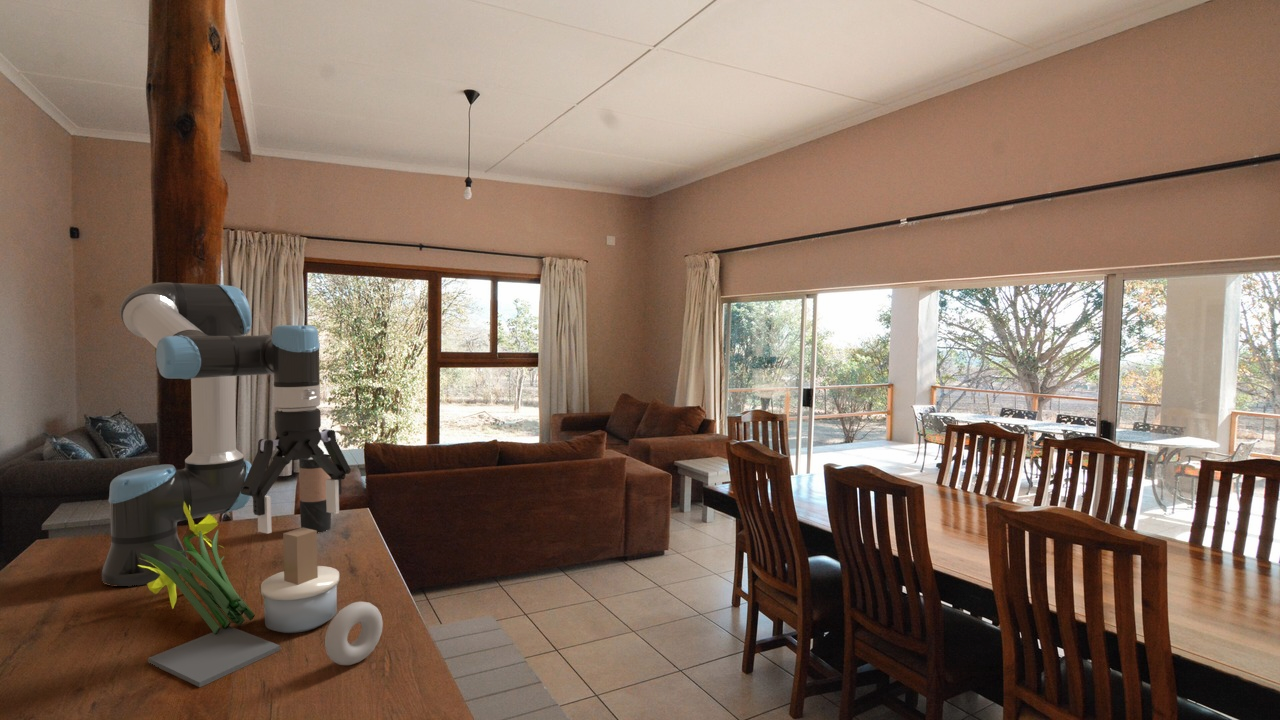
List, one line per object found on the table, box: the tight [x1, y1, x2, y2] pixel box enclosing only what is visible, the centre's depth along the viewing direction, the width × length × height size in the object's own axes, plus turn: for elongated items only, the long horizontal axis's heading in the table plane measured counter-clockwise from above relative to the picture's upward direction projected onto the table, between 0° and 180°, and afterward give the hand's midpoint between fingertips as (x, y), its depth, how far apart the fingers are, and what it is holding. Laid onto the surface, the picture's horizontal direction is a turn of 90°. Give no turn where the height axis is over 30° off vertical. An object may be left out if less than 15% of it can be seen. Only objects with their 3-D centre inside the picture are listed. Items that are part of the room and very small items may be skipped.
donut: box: [324, 601, 384, 666], centre depth 107 cm, size 10×4×10 cm, turn 148°
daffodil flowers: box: [138, 502, 256, 635], centre depth 126 cm, size 17×15×35 cm
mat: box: [147, 625, 281, 688], centre depth 109 cm, size 15×13×1 cm
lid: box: [260, 527, 340, 600], centre depth 121 cm, size 13×13×10 cm
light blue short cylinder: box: [263, 584, 338, 634], centre depth 121 cm, size 12×12×7 cm
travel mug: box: [298, 453, 332, 534], centre depth 174 cm, size 8×8×20 cm
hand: (300, 522), depth 120 cm, fingers open, 13 cm apart
